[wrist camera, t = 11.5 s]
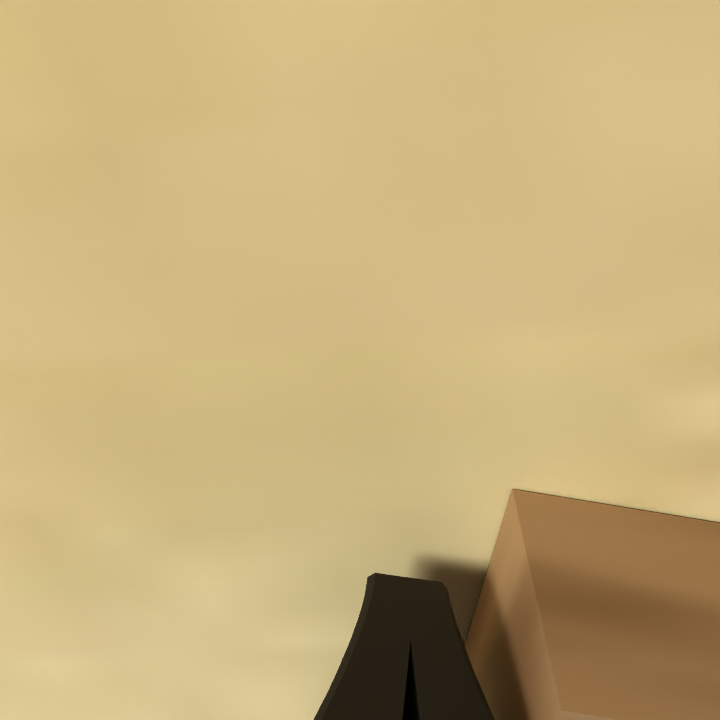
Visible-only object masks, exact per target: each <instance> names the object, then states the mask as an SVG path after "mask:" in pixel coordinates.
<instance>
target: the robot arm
mask: <svg viewBox="0 0 720 720" xmlns="http://www.w3.org/2000/svg"><path fill="white" fill-rule="evenodd" d="M314 720H495V719H494V717H493V715H492V712H491V710H490V708H489V705H488V703H487V700H486V698H485V696H484V693H483V691H482V689H481V686H480V684H479V682H478V679H477V677H476V675H475V672H474V670H473V667H472V664H471V662H470V659H469V657H468V654H467V651H466V649H465V646H464V643H463V640H462V638H461V635H460V632H459V629H458V626H457V623H456V620H455V617H454V614H453V610H452V607H451V604H450V600H449V596H448V592H447V588H446V587H445V586H444V585H443V584H442V582H436V581H429V580H422V579H415V578H407V577H400V576H393V575H386V574H379V573H374V574H372V575H371V576H369V577H368V578H367V585H366V591H365V597H364V601H363V605H362V608H361V612H360V615H359V618H358V621H357V624H356V627H355V629H354V632H353V635H352V638H351V640H350V643H349V645H348V648H347V650H346V652H345V655H344V657H343V659H342V662H341V664H340V666H339V669H338V671H337V673H336V676H335V678H334V680H333V682H332V684H331V686H330V689H329V691H328V693H327V695H326V697H325V698H324V700H323V702H322V704H321V706H320V708H319V710H318V712H317V714H316V716H315V718H314Z"/></svg>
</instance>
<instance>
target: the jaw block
mask: <svg viewBox="0 0 720 720" xmlns="http://www.w3.org/2000/svg"><path fill="white" fill-rule="evenodd" d="M464 646H465V649H466V651H467V654H468V657H469V659H470V662H471V664H472V667H473V670H474V672H475V675H476V677H477V679H478V682H479V684H480V686H481V689H482V691H483V693H484V696H485V698H486V700H487V703H488V705H489V708H490V710H491V712H492V715H493V717H494V719H495V720H720V523H716V522H710V521H704V520H698V519H692V518H686V517H680V516H674V515H667V514H661V513H655V512H649V511H643V510H637V509H631V508H625V507H619V506H612V505H606V504H600V503H594V502H588V501H582V500H576V499H570V498H564V497H557V496H551V495H545V494H539V493H533V492H527V491H521V490H515V489H512V491H511V495H510V498H509V501H508V505H507V508H506V511H505V514H504V518H503V521H502V524H501V527H500V531H499V534H498V537H497V540H496V544H495V547H494V550H493V554H492V557H491V560H490V563H489V567H488V570H487V573H486V576H485V580H484V583H483V586H482V590H481V593H480V596H479V599H478V603H477V606H476V609H475V612H474V616H473V619H472V622H471V626H470V629H469V632H468V635H467V639H466V642H465V645H464Z"/></svg>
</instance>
